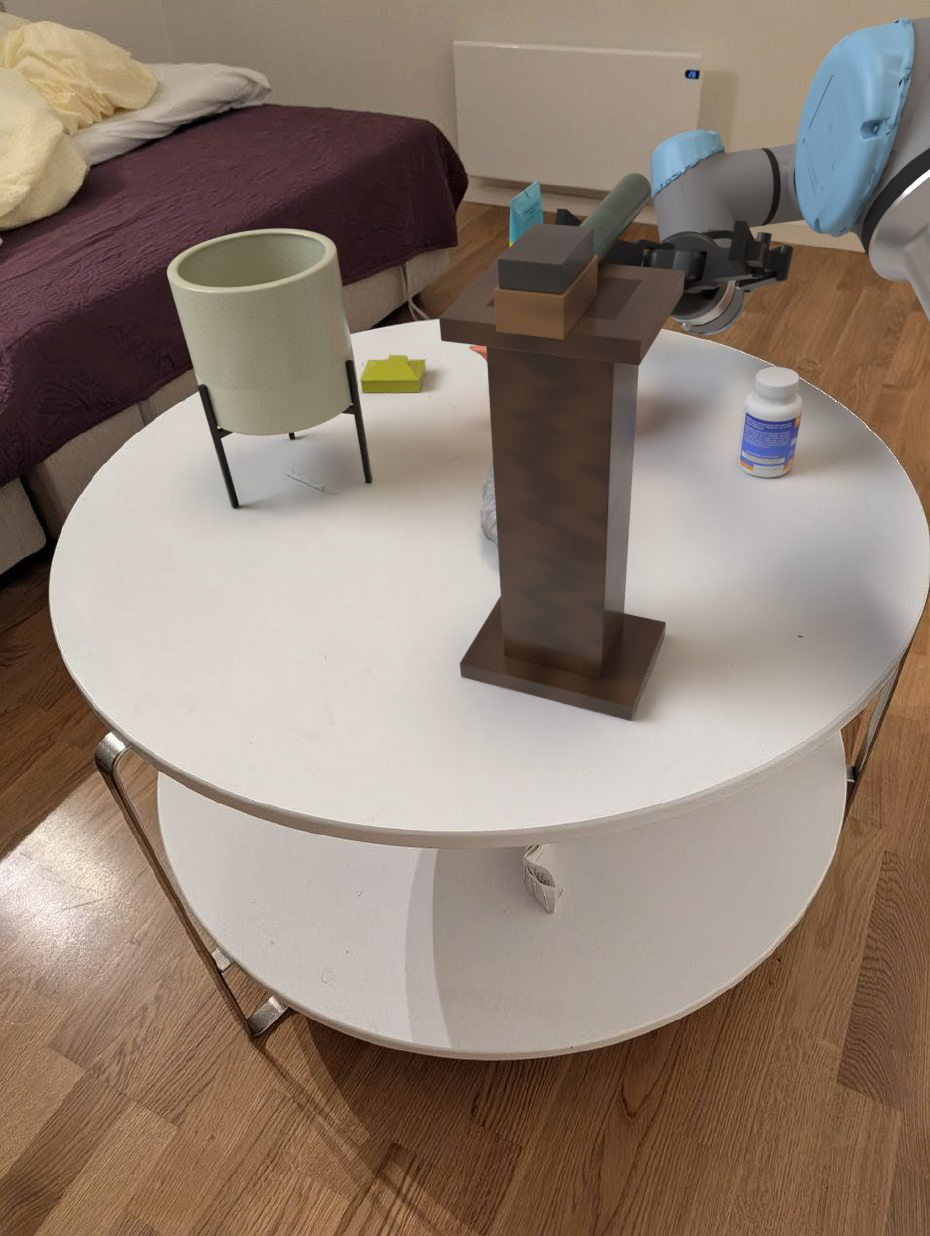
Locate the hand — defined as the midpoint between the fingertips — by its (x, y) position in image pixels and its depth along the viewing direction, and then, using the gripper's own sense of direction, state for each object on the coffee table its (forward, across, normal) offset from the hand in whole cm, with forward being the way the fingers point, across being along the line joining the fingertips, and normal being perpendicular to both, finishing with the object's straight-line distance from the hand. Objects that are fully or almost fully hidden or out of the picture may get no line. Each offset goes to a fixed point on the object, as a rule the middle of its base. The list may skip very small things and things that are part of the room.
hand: (644, 233), depth 69 cm
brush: (+14, 0, -5) cm, 14 cm away
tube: (-42, +22, -7) cm, 48 cm away
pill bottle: (-26, -10, -16) cm, 32 cm away
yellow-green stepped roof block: (-31, +35, -13) cm, 49 cm away
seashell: (-10, +10, -25) cm, 29 cm away
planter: (-12, +35, -24) cm, 44 cm away
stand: (+2, 0, -33) cm, 33 cm away
